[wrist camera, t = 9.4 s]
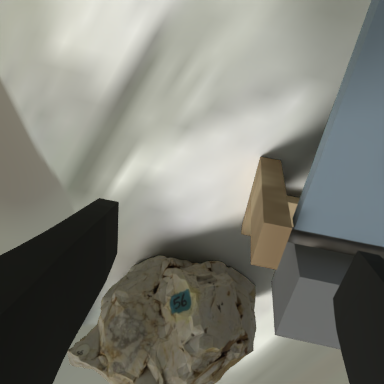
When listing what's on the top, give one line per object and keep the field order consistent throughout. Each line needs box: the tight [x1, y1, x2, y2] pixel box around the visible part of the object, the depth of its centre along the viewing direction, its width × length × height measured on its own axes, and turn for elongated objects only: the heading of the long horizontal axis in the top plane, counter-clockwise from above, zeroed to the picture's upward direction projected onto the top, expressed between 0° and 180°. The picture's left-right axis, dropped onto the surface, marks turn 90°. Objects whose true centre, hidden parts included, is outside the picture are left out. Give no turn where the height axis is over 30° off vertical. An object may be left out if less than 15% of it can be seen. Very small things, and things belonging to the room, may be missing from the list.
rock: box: [68, 256, 256, 384], centre depth 23 cm, size 12×7×10 cm, turn 103°
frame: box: [241, 157, 384, 270], centre depth 18 cm, size 13×5×7 cm, turn 82°
